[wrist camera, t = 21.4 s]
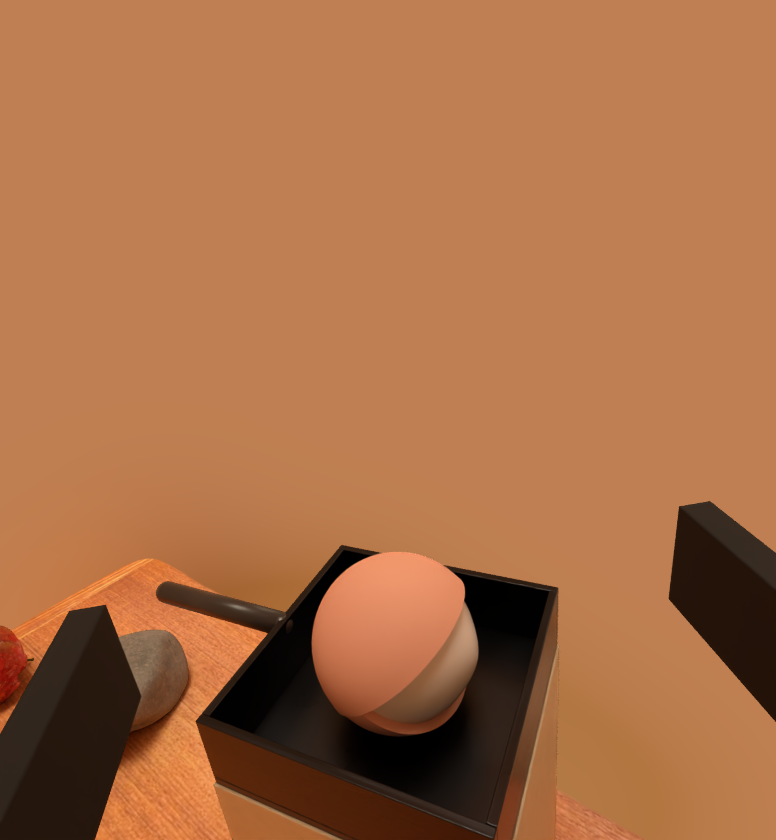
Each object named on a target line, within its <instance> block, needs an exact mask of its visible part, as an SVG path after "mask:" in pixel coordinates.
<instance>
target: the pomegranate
mask: <svg viewBox="0 0 776 840" xmlns="http://www.w3.org/2000/svg"><path fill="white" fill-rule="evenodd" d="M33 660H34V658H32V659H27V656H26V654H24V652H23V648H22V645H21V642H20V641H19V640H18V638H17V637H16V636H15V635H14V633H13V632H12V631H11V630H10V629H8V628H6V627H4V626H0V703H2V702H4V701H5V700H6V699H8V698H9V697H10V696H11V695H12V693H13V692H14V691H15V690H16V689H17V688H18V687H19V685H20V679H19V678H18V675H19V673H20V672H21V671H22V670H23V669H24V668H25V667H26V663H27V661H33Z"/></svg>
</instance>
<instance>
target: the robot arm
mask: <svg viewBox="0 0 776 840" xmlns="http://www.w3.org/2000/svg"><path fill="white" fill-rule="evenodd" d="M669 600H670V601H671V602H672V603H673V605H675V607H676V608H677V609H678V610H679V611H680V613H681V614H682V615H683V616H684V617H685V618H686V619H687V621H688V622H689V623H690V624H691V625H692V626H693V627H694V629H695V630H696V631H697V632H698V633H699V634H700V636H702V638H703V639H704V640H705V641H706V642H707V644H709V646H710V647H711V648H712V649H713V650H714V651H715V653H716V654H717V655H718V656H719V657H720V658H721V660H722V661H723V662H724V663H725V664H726V665H727V666H728V668H729V669H730V670H731V671H732V672H733V673H734V675H735V676H736V677H737V678H738V679H739V680H740V681H741V683H742V684H743V685H744V686H745V687H746V688H747V689H748V691H749V692H750V693H751V694H752V695H753V696H754V697H755V699H756V700H757V701H758V702H759V703H760V704H761V706H762V707H763V708H764V709H765V710H766V711H767V712H768V714H769V715H770V716H771V717H772V718H773V719H774V720H775V722H776V553H775V552H774V551H773V550H771V549H770V548H768V547H767V546H766V545H765V544H764V543H762V542H761V541H760V540H759V539H757V538H756V537H755V536H753V535H752V534H751V533H750V532H748V531H747V530H746V529H745V528H743V527H742V526H741V525H739V524H738V523H737V522H736V521H734V520H733V519H732V518H731V517H729V516H728V515H727V514H726V513H724V512H723V511H722V510H720V509H719V508H718V507H717V506H715V505H714V504H713V503H711V502H710V501H708V502H703V503H697V504H691V505H685V506H679V512H678V521H677V530H676V539H675V547H674V556H673V566H672V574H671V582H670V592H669ZM141 697H142V696H141V693H140V691H139V688H138V686H137V683H136V681H135V678H134V676H133V673H132V670H131V668H130V665H129V663H128V660H127V658H126V655H125V653H124V650H123V648H122V645H121V642H120V640H119V637H118V635H117V632H116V630H115V627H114V625H113V622H112V620H111V617H110V615H109V612H108V609H107V607H106V605H102V606H96V607H90V608H84V609H79V610H73V611H69V613H68V614H67V616H66V618H65V620H64V621H63V623H62V625H61V627H60V629H59V630H58V632H57V634H56V636H55V637H54V639H53V641H52V643H51V645H50V646H49V648H48V650H47V652H46V653H45V655H44V657H43V659H42V661H41V662H40V664H39V666H38V668H37V669H36V671H35V673H34V675H33V677H32V678H31V680H30V682H29V684H28V685H27V687H26V689H25V691H24V693H23V694H22V696H21V698H20V700H19V701H18V703H17V705H16V707H15V709H14V710H13V712H12V714H11V716H10V717H9V719H8V721H7V723H6V725H5V726H4V728H3V730H2V732H1V733H0V840H95V837H96V834H97V831H98V828H99V825H100V822H101V819H102V816H103V813H104V810H105V807H106V804H107V801H108V797H109V794H110V791H111V788H112V785H113V782H114V779H115V776H116V773H117V770H118V767H119V764H120V761H121V758H122V755H123V752H124V749H125V745H126V742H127V739H128V736H129V733H130V730H131V727H132V724H133V721H134V718H135V715H136V712H137V709H138V706H139V703H140V700H141Z"/></svg>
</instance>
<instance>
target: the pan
mask: <svg viewBox="0 0 776 840" xmlns="http://www.w3.org/2000/svg"><path fill="white" fill-rule="evenodd" d="M377 554H381V553H379V552H374V551H369V550H364V549H359V548H353V547H349V546H344V545H341V546H340V547H339V549H338V550H337V551H336V552H335V553H334V555H333V556H332V557H331V558H330V559H329V561H328V562H327V563H326V564H325V565H324V567H323V568H322V569H321V570H320V571H319V573H318V574H317V575H316V576H315V577H314V579H313V580H312V581H311V582H310V584H309V585H308V586H307V587H306V588H305V590H304V591H303V592H302V593H301V594H300V596H299V597H298V598H297V599H296V600H295V602H294V603H293V604H292V605H291V607H290V608H289V609H288V610H287V611H286V612H282V611H279V610H275V609H271V608H268V607H263V606H260V605H257V604H253V603H249V602H245V601H242V600H238V599H234V598H230V597H227V596H222V595H219V594H215V593H212V592H208V591H204V590H200V589H197V588H193V587H189V586H185V585H182V584H178V583H174V582H170V581H167V582H164V583H162V584H160V585H159V586H158V588H157V590H156V596H157V598H158V600H159V601H161V602H163V603H166V604H169V605H173V606H176V607H180V608H183V609H187V610H190V611H194V612H197V613H200V614H204V615H207V616H211V617H214V618H218V619H221V620H225V621H228V622H231V623H235V624H238V625H242V626H245V627H249V628H252V629H256V630H259V631H262V632H266V633H268V634H267V635H266V637H265V638H264V639H263V640H262V642H261V643H260V644H259V645H258V646H257V648H256V649H255V650H254V651H253V652H252V654H251V655H250V656H249V657H248V658H247V660H246V661H245V662H244V663H243V664H242V666H241V667H240V668H239V669H238V671H237V672H236V673H235V674H234V675H233V677H232V678H231V679H230V680H229V681H228V683H227V684H226V685H225V686H224V687H223V689H222V690H221V691H220V692H219V693H218V695H217V696H216V697H215V698H214V700H213V701H212V702H211V703H210V704H209V706H208V707H207V708H206V709H205V710H204V712H203V713H202V714H201V715H200V716H199V718H198V719H197V720H196V724H197V727H198V730H199V733H200V736H201V739H202V742H203V745H204V748H205V750H206V753H207V756H208V759H209V762H210V765H211V768H212V771H213V774H214V776H215V780H216V783H217V784H220V785H222V786H224V787H226V788H228V789H231V790H233V791H235V792H237V793H240V794H242V795H244V796H246V797H249V798H251V799H253V800H255V801H257V802H260V803H262V804H264V805H266V806H269V807H271V808H273V809H275V810H278V811H280V812H282V813H284V814H287V815H289V816H291V817H293V818H295V819H298V820H300V821H302V822H304V823H307V824H309V825H311V826H313V827H316V828H318V829H320V830H322V831H324V832H327V833H329V834H331V835H333V836H336V837H338V838H340V839H342V840H513V838H514V833H515V829H516V825H517V820H518V816H519V811H520V807H521V803H522V798H523V794H524V790H525V785H526V781H527V776H528V772H529V768H530V763H531V759H532V754H533V750H534V746H535V741H536V737H537V733H538V728H539V724H540V719H541V715H542V711H543V706H544V702H545V698H546V693H547V689H548V684H549V680H550V676H551V671H552V667H553V662H554V658H555V654H556V649H557V633H558V632H557V631H558V588H557V587H552V586H547V585H542V584H537V583H532V582H527V581H522V580H516V579H512V578H507V577H502V576H496V575H491V574H486V573H481V572H476V571H471V570H466V569H461V568H456V567H450V566H445V565H443V566H445V567H446V568H448V569H449V570H450V571H451V572H453V573H454V574H455V575H456V576H457V577H458V578H460V579H461V581H462V582H463V584H464V588H465V598H464V601H465V603H466V605H467V607H468V609H469V611H470V614H471V617H472V620H473V623H474V626H475V630H476V634H477V639H478V646H479V656H478V662H477V666H476V669H475V671H474V673H473V676H472V677H471V679H470V681H469V683H468V684H467V686H466V689H465V693H464V696H463V698H462V701H461V703H460V705H459V706H458V708H457V710H456V711H455V713H454V714H453V715H452V716H451V717H450V718H449V719H448V720H447V721H446V722H445V723H444V724H442V725H441V726H439V727H438V728H436V729H434V730H431V731H429V732H425V733H422V734H418V735H412V736H402V737H395V736H386V735H381V734H377V733H374V732H371V731H369V730H366V729H364V728H362V727H360V726H359V725H357V724H355V723H354V722H352V721H351V720H350V719H348V718H347V717H345V716H342V715H341V714H339V713H338V712H337V710H336V709H335V708H334V706H333V705H332V704H331V702H330V701H329V699H328V698H327V696H326V695H325V693H324V691H323V689H322V687H321V685H320V682H319V680H318V677H317V674H316V671H315V667H314V662H313V655H312V633H313V626H314V621H315V617H316V614H317V611H318V608H319V606H320V604H321V601H322V599H323V598H324V596H325V594H326V592H327V591H328V589H329V588H330V586H331V585H332V584H333V583H334V581H335V580H336V579H337V578H338V577H339V576H340V575H341V574H342V573H343V572H344V571H346V570H347V569H348V568H350V567H351V566H352V565H354V564H356V563H357V562H359V561H361V560H363V559H365V558H368V557H370V556H373V555H377Z"/></svg>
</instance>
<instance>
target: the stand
mask: <svg viewBox="0 0 776 840" xmlns="http://www.w3.org/2000/svg"><path fill="white" fill-rule="evenodd" d="M558 684H559V646H558V645H557V649H556V654H555V658H554V662H553V667H552V671H551V676H550V680H549V684H548V689H547V693H546V698H545V702H544V706H543V711H542V715H541V719H540V724H539V728H538V733H537V737H536V741H535V746H534V750H533V754H532V759H531V763H530V768H529V772H528V776H527V781H526V785H525V790H524V794H523V798H522V803H521V807H520V811H519V816H518V820H517V825H516V829H515V833H514V838H513V840H555V824H556V779H557V778H556V777H557V733H558V688H559V687H558V686H559V685H558ZM214 788H215V791H216V794H217V796H218V799H219V802H220V805H221V808H222V811H223V814H224V817H225V820H226V823H227V826H228V829H229V832H230V834H231V837H232V840H342V839H340V838H338V837H336V836H333V835H331V834H329V833H327V832H324V831H322V830H320V829H318V828H316V827H313V826H311V825H309V824H307V823H304V822H302V821H300V820H298V819H295V818H293V817H291V816H289V815H287V814H284V813H282V812H280V811H278V810H275V809H273V808H271V807H269V806H266V805H264V804H262V803H260V802H257V801H255V800H253V799H251V798H249V797H246V796H244V795H242V794H240V793H237V792H235V791H233V790H231V789H228V788H226V787H224V786H222V785H220V784H217V783H216V782H215V784H214Z"/></svg>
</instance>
